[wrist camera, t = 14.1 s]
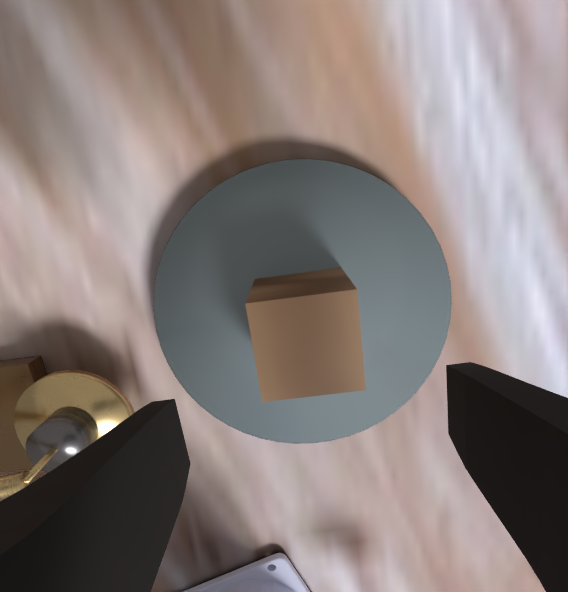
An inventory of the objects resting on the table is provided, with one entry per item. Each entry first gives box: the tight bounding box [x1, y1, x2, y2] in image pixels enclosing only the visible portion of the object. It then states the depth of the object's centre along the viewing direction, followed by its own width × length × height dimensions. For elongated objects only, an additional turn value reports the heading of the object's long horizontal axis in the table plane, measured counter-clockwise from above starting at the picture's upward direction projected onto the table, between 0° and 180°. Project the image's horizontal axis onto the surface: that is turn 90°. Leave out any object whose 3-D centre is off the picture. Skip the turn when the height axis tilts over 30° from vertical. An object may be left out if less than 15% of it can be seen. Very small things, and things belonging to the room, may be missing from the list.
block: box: [245, 268, 366, 402], centre depth 16 cm, size 4×4×4 cm
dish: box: [154, 159, 452, 444], centre depth 18 cm, size 14×14×1 cm
